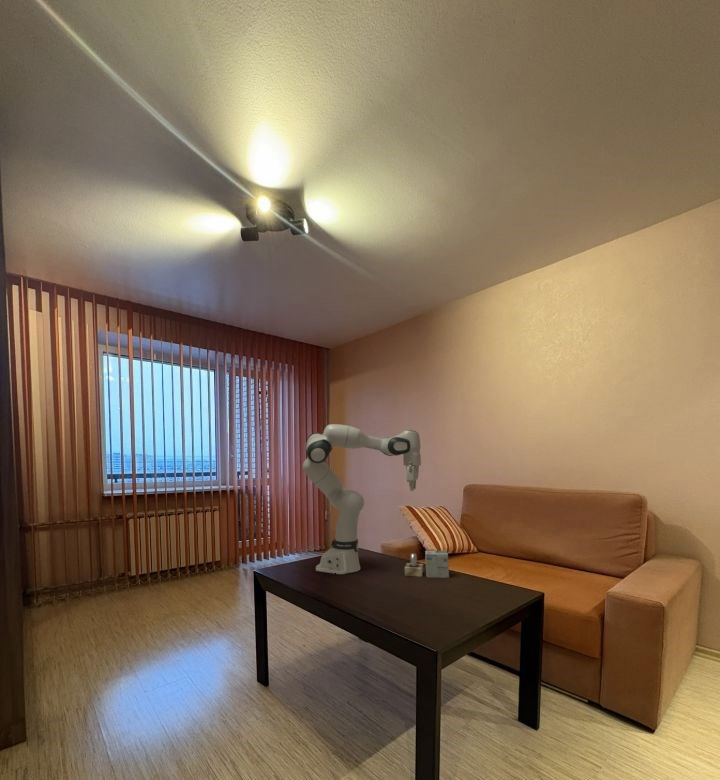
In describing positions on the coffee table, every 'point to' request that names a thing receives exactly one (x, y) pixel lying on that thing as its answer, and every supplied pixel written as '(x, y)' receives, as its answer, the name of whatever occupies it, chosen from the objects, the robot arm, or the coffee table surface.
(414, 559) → the peg
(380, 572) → the coffee table surface
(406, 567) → the hole block
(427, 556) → the light bulb box
